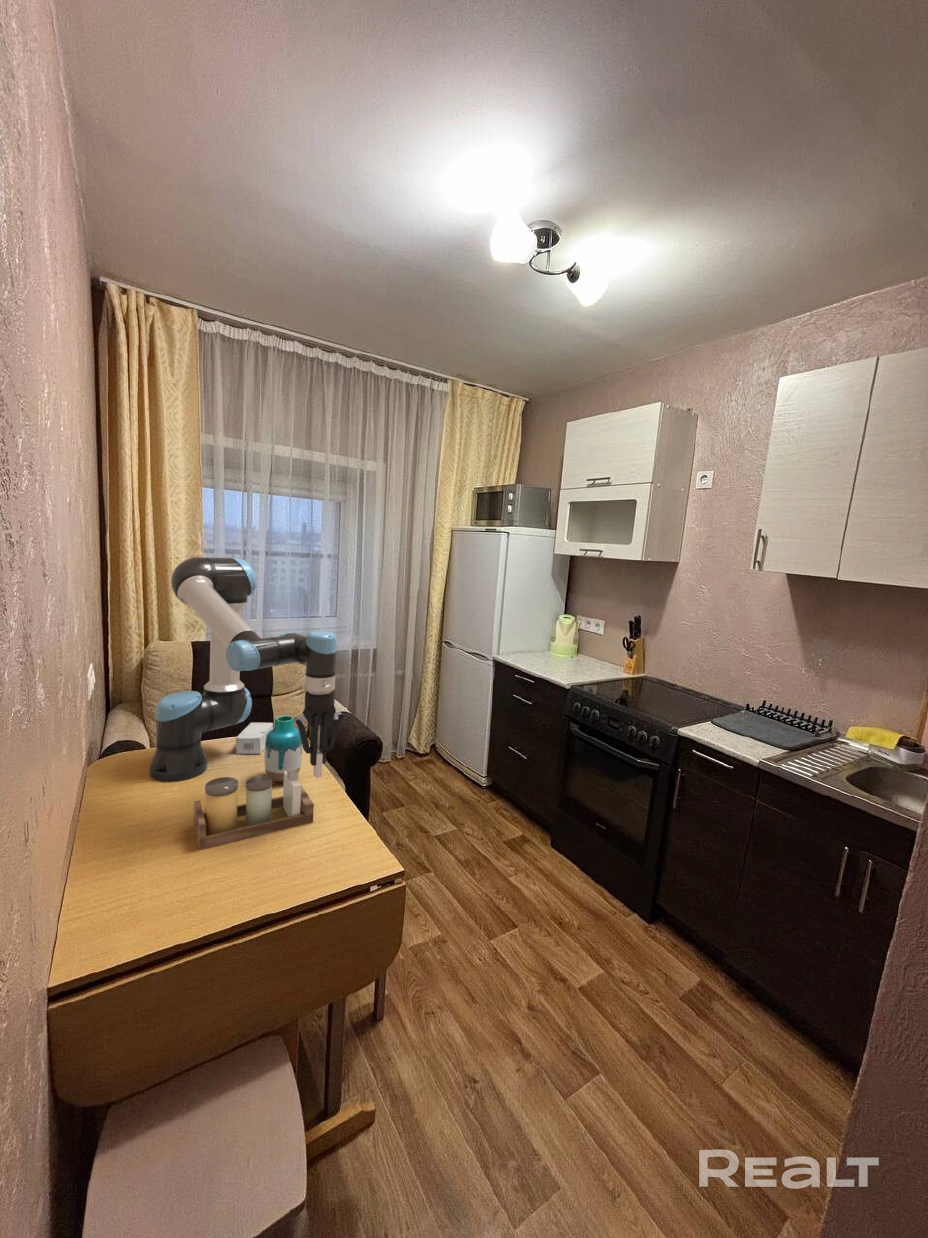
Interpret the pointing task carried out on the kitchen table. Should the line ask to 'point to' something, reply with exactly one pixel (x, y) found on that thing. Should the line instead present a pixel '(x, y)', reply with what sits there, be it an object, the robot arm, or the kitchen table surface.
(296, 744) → the vase
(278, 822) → the wooden spice rack
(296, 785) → the plate
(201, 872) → the kitchen table surface
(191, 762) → the robot arm
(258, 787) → the sage jar
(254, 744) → the skincare box
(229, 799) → the amber jar
